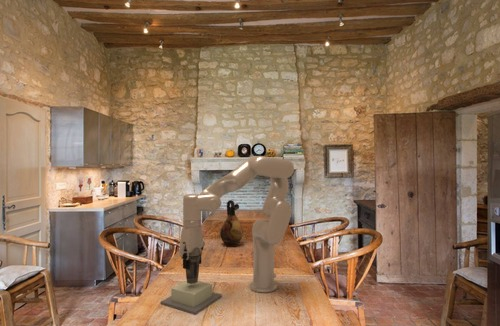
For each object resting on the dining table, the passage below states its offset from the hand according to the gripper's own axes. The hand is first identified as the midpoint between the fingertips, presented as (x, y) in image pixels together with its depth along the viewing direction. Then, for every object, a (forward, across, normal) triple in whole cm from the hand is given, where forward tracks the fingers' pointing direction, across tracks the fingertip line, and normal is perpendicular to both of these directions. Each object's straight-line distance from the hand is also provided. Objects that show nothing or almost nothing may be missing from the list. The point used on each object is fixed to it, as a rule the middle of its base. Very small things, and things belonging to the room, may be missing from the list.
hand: (192, 265), depth 137 cm
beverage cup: (+7, 0, 0) cm, 7 cm away
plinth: (+15, 0, 0) cm, 15 cm away
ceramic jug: (+15, -79, -31) cm, 86 cm away
